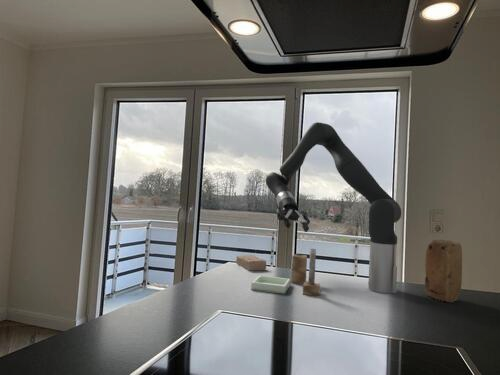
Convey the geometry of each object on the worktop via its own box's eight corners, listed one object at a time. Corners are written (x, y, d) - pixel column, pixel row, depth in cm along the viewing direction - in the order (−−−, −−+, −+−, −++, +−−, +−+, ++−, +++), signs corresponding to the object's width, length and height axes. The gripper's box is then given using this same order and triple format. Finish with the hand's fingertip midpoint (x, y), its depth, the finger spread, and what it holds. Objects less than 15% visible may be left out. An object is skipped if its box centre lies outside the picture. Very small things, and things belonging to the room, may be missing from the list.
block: (463, 303, 119) (465, 242, 119) (446, 304, 116) (448, 242, 117) (436, 294, 129) (438, 238, 129) (420, 295, 126) (422, 238, 127)
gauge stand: (318, 292, 123) (321, 248, 123) (317, 296, 118) (320, 250, 119) (304, 290, 124) (306, 247, 125) (302, 294, 120) (304, 249, 120)
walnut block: (305, 281, 138) (307, 255, 138) (304, 284, 133) (305, 257, 134) (293, 279, 140) (294, 254, 140) (291, 282, 135) (292, 255, 135)
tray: (290, 285, 130) (290, 278, 130) (284, 293, 119) (285, 286, 119) (259, 282, 133) (259, 275, 133) (251, 289, 122) (251, 282, 122)
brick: (235, 264, 166) (235, 254, 166) (251, 263, 169) (252, 253, 169) (248, 272, 151) (249, 261, 151) (266, 271, 154) (267, 260, 154)
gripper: (276, 193, 151) (287, 218, 138) (304, 200, 157) (317, 225, 144) (268, 206, 154) (278, 232, 142) (296, 212, 160) (308, 238, 147)
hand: (298, 228), depth 143 cm, fingers open, 8 cm apart
